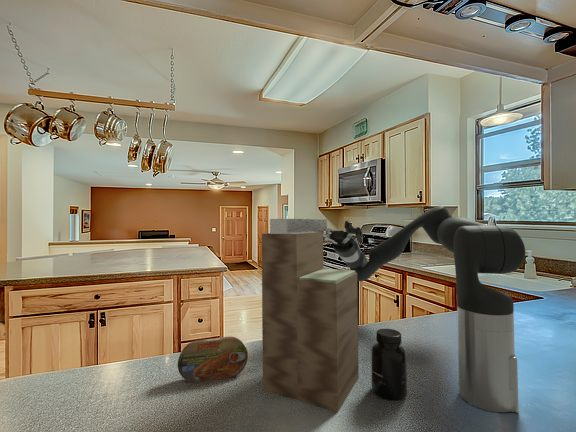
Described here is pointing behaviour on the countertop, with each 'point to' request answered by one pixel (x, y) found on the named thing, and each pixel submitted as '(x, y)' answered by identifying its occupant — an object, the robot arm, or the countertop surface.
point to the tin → (212, 359)
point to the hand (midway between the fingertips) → (331, 223)
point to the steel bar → (297, 226)
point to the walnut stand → (307, 322)
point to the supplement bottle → (389, 365)
